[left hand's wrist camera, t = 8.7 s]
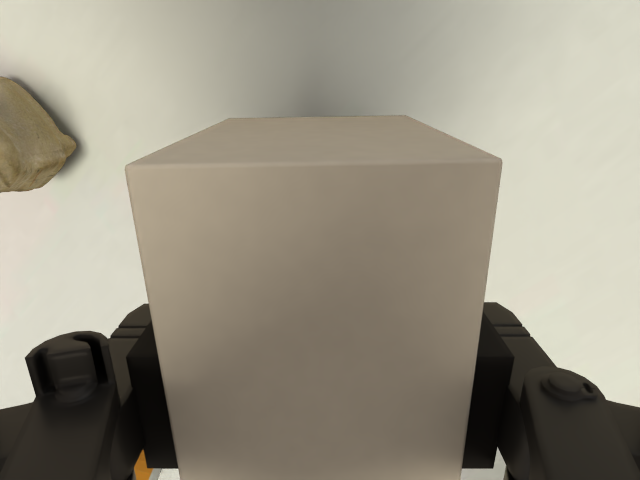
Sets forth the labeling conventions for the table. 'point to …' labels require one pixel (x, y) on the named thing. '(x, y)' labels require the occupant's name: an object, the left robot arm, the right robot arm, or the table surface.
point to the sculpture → (28, 141)
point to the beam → (316, 294)
